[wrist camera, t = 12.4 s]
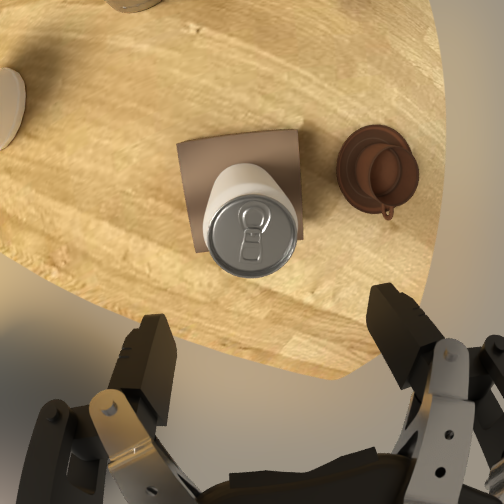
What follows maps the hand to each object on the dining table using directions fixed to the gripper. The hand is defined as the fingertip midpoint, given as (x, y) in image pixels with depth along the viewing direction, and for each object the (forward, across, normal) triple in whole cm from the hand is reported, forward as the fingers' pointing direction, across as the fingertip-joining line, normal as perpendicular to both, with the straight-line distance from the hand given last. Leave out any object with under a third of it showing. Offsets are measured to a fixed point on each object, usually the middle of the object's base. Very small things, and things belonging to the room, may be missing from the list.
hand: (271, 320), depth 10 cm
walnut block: (+26, 0, 0) cm, 26 cm away
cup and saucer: (+26, -18, 0) cm, 31 cm away
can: (+20, 0, 0) cm, 20 cm away
